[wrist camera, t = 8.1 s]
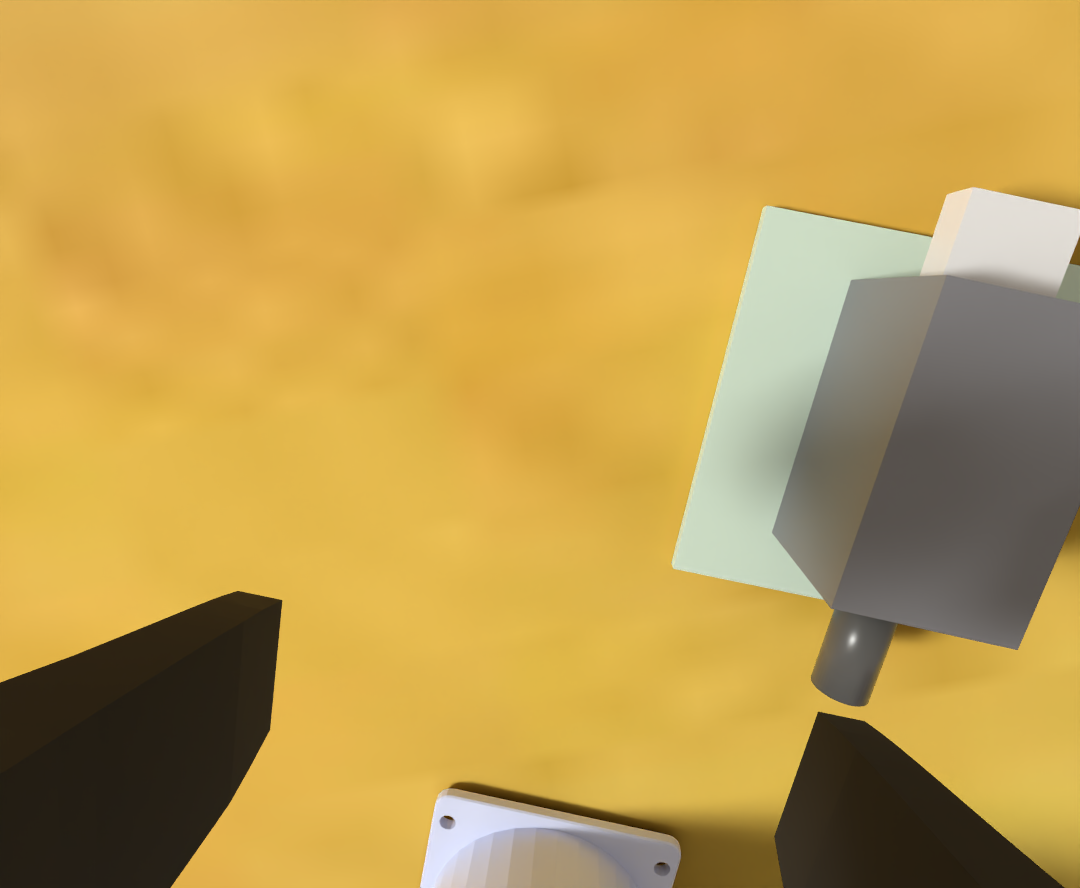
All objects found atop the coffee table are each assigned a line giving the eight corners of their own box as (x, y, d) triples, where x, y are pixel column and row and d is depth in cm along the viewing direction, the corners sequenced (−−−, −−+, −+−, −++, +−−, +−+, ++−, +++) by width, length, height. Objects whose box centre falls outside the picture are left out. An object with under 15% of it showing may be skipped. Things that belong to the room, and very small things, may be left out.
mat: (977, 625, 19) (985, 633, 18) (671, 562, 19) (673, 568, 19) (1114, 274, 16) (1127, 274, 16) (763, 207, 17) (767, 205, 16)
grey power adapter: (877, 658, 19) (966, 768, 14) (741, 627, 19) (789, 728, 14) (1037, 232, 16) (1207, 208, 12) (876, 198, 16) (986, 162, 12)
